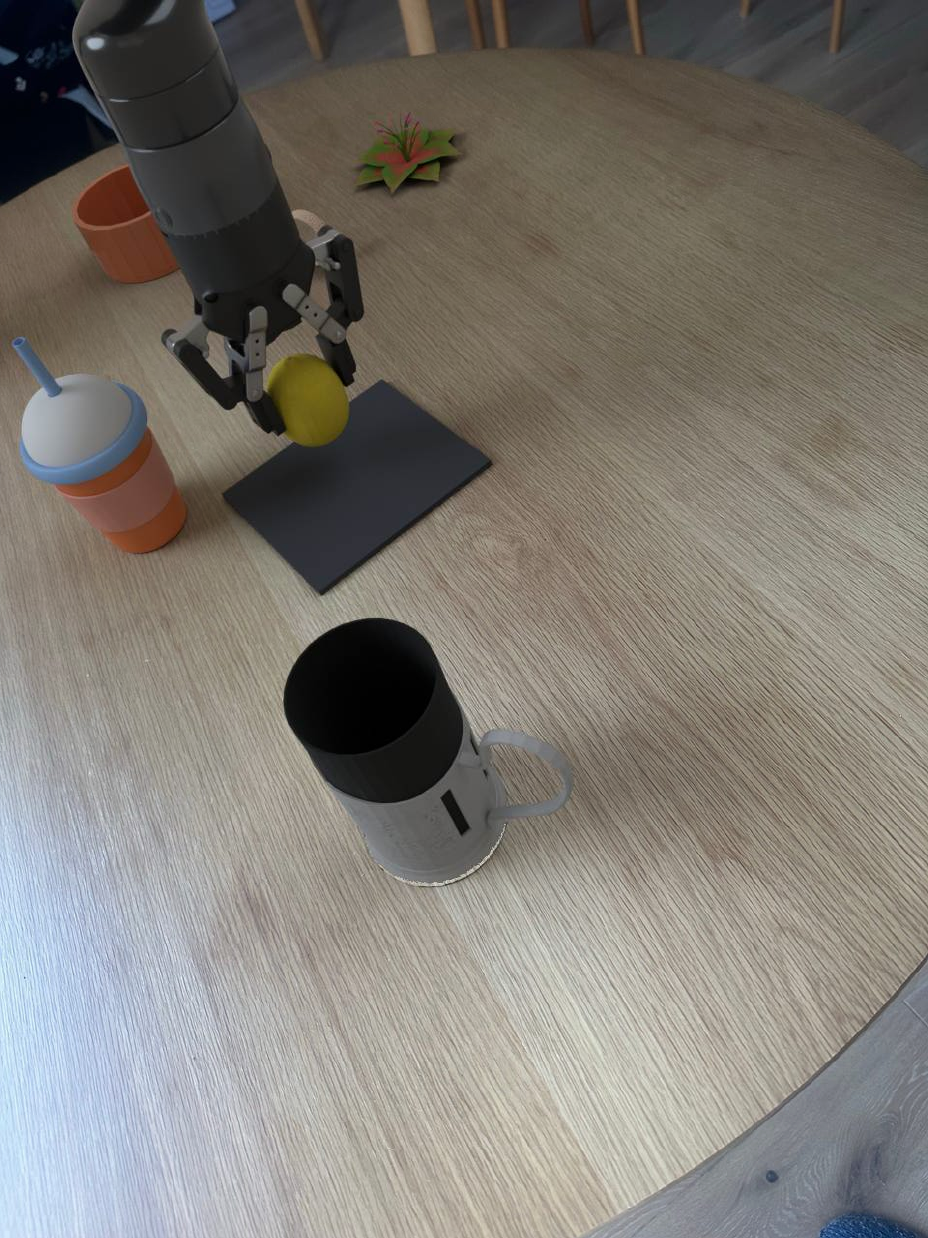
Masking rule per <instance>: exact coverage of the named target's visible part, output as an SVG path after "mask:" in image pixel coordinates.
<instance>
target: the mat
mask: <svg viewBox="0 0 928 1238" xmlns="http://www.w3.org/2000/svg"><path fill="white" fill-rule="evenodd" d="M492 465H493V462H492V459H491V458H489V457H488V456H487V455H486V454H485V453H483V452H481V451H480V450H479V449H477V448H476V447H475V446H473V445H472V444H471V443H469V442H468V441H467V440H465V439H464V438H462V437H461V436H460V435H458V434H457V433H456V432H454V431H453V430H451V429H450V428H449V427H448V426H446V425H445V424H444V423H442V422H441V421H439V420H438V419H437V418H436V417H434V416H433V415H431V414H430V413H428V412H427V411H426V410H424V409H423V408H422V407H421V406H419V405H418V404H416V403H415V402H414V401H413V400H411V399H409V398H408V397H407V396H405V394H403V393H402V392H400V391H399V390H398V389H396V388H395V387H394V386H392V385H391V384H389V382H386V381H385V380H384V379H382V378H381V379H379V380H378V381H377V382H375V383H373V385H371V386H369V387H368V388H367V389H366V390H364V391H363V392H361V393H360V394H358V395H357V396H356V397H354V398H352V399H351V400H350V401H349V417H348V420H347V424H346V426H345V428H344V430H343V431H342V433H341V434H340V435H339V436H338V437H337V438H336V439H335V440H333V441H332V442H330V443H328V444H326V445H323V446H318V447H309V446H303V445H300V444H298V443H296V442H294V441H292V442H291V443H290V444H289V445H287V446H286V447H285V448H283V449H282V450H280V451H279V452H277V453H276V454H274V455H273V456H272V457H270V458H269V459H267V460H266V461H265V462H263V463H261V465H259V466H258V467H257V468H255V469H254V470H252V471H251V472H250V473H248V474H247V475H245V476H244V477H243V478H241V479H239V480H238V481H237V482H236V483H234V484H233V485H232V486H230V487H229V488H227V489H226V490H224V491H222V493H221V496H222V497H223V499H224V500H226V502H228V504H229V505H230V506H231V507H233V509H234V510H235V511H236V512H237V513H238V514H239V515H240V516H241V517H242V518H243V519H244V520H245V521H246V522H247V524H249V525H250V526H251V527H252V528H253V529H254V530H255V531H256V532H257V533H258V534H259V535H260V536H261V538H263V539H264V540H265V541H266V542H267V543H268V544H269V546H271V547H272V548H273V549H274V550H275V551H276V552H277V553H278V554H279V555H280V556H281V557H282V558H283V559H284V560H285V561H286V562H287V563H288V565H290V566H291V567H292V569H294V570H295V571H296V572H297V573H298V574H299V575H300V577H301V578H303V579H304V580H305V581H306V583H308V584H309V586H310V587H311V588H312V589H313V590H314V591H315V592H316V593H318V595H319V596H322V595H324V594H325V593H326V592H328V591H329V590H330V589H332V588H333V587H334V586H335V585H338V584H339V582H341V581H342V580H344V579H345V578H346V577H348V576H349V575H350V574H352V572H354V571H356V569H358V568H359V567H360V566H362V565H363V564H365V563H366V562H367V561H369V560H370V559H371V558H372V557H373V556H375V555H376V554H377V553H378V552H380V551H382V550H383V549H384V548H385V547H387V546H388V545H389V544H390V543H392V542H393V541H394V540H396V539H397V538H398V537H399V536H401V535H402V534H403V533H405V532H406V531H407V530H409V529H410V528H411V527H413V526H414V525H415V524H416V523H418V522H419V521H420V520H421V519H423V518H424V517H426V516H427V515H428V514H430V513H431V512H432V511H434V510H435V509H436V508H437V507H439V506H440V505H441V504H442V503H444V502H445V501H447V500H448V499H449V498H451V496H453V495H455V494H456V493H457V492H458V491H459V490H461V489H462V488H463V487H465V486H466V485H467V484H468V483H470V482H471V481H473V480H474V479H475V478H476V477H478V475H480V474H481V473H482V472H484V471H486V470H487V469H488V468H490V467H491V466H492Z"/></svg>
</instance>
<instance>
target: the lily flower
mask: <svg viewBox="0 0 928 1238" xmlns="http://www.w3.org/2000/svg"><path fill="white" fill-rule="evenodd" d="M399 112H400V113H399V119H400V120H399V121H400V122H399V123H400V129H401V130H400V132H398V130H397V127H396V125H395V123H394V121H393V119H392V117H391V115H390V114H389V113H388V114H387V115H388V117H389V119H390V120H391V122H392V124H393V126H394V129H395V131H394V129H393V127H392V126H391V124H390V123H388V126H389V128H388V127H387V126H385V125H383V124H382V123H381V122H378V121H374V124H375V125H378V126H381V127H383V128H384V129H385V130H387V131H385V130H383V129H377V130H376V132H377V134H376V135H375V136H376V137H375V140H374V142H373V146H370V147H369V148H368V149H366V151H364V152H363V153H362V154H360V156H359V157H358V158H356V159H355V160H353V161H352V163H363V164H366V165H368V166H366V167H365V168H364V169H363V170H362V171H360V174H359V175H358V176H357V179H356V182H354V184H353V185H352V188H353V187H357V186H360V185H364V184H369V183H373V182H378V181H383V180H384V182H385V184H386V185H387V187H388V188H390V193H391V194H393V193H394V192H395V191H396V190H397V188H398V187H399V186H400V185H401V183H402V182H404V180H405V179H406V178H410V179H417V180H418V179H419V180H425V181H435V182H440V180H439V178H440V169H441V166H440V165H441V164H440V162H439V160H437V159H438V158H440V157H447V156H455V155H463V153H462V152H461V151H459V150H458V149H457V148H456V147H453V145H452V144H451V142H449V141H450V140H451V139H452V137H453V136H454V135H455V134H456V132H457V131H458V130H459V129H460V127H455V128H447V129H445V128H441V129H440V128H439V129H436V130H435V129H434V130H432V131H430V132H429V130H428V128H427V127H425V126H424V125H422V124H421V123H420V120H417V121H416V123H415V124H414V126H412V127H411V128H410V127H409V125H410V124H411V123H412V121H413V118H412V117H411V118H410V116H411V111H409V112H408V114H407V115H406V118H404V129H403V125H402V111H401V110H400V111H399ZM378 133H380V134H378ZM381 133H384V134H381Z"/></svg>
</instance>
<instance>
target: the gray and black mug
mask: <svg viewBox="0 0 928 1238" xmlns="http://www.w3.org/2000/svg"><path fill="white" fill-rule="evenodd" d="M458 698H459V697H458V696H457V695H456V694H455V692H454V691H453V689H452V688H451V687H450V685H449V683H448V680H447V678H446V675H445V674H444V672H443V668H442V667H441V665H440V662H439V660H438V657H437V655H436V653H435V651H434V649H433V647H432V645H431V644H430V642H429V641H428V640H427V638H426V637H425V636H424V635H423V634H422V633H421V632H419V631H418V630H417V629H416V628H414V627H412V626H410V625H409V624H407V623H405V622H402V621H399V620H396V619H393V618H385V617H365V618H359V619H353V620H350V621H347V622H344V623H341V624H338V625H337V626H335V627H333V628H330V629H328V630H327V631H325V632H324V633H322V634H321V635H319V636H318V637H317V638H315V639H314V640H313V641H312V642H311V643H310V644H308V645H307V647H306V648H305V649H304V650H303V651H302V652H301V653H300V655H299V656H298V657H297V659H296V660H295V662H294V663H293V664H292V666H291V668H290V671H289V673H288V675H287V677H286V681H285V685H284V689H283V699H282V701H283V702H282V704H283V711H284V712H283V713H284V716H285V719H286V722H287V724H288V727H289V728H290V730H291V731H292V733H293V734H294V736H295V737H296V739H297V740H298V742H300V744H301V746H302V747H303V748H304V750H305V751H306V752H307V754H308V756H309V759H310V761H311V762H312V764H313V767H315V769H316V771H317V772H318V774H319V775H320V777H321V778H322V780H323V781H324V782H325V784H326V785H327V787H328V788H329V789H330V790H331V792H332V793H333V794H334V796H335V798H336V799H337V800H338V801H339V803H340V804H341V805H342V806H343V809H345V810H346V812H347V814H348V815H349V816H350V817H351V819H352V820H353V822H355V824H356V825H357V827H358V828H359V829H360V830H361V832H362V834H363V833H364V834H363V836H364V835H365V840H366V842H367V845H368V848H367V850H368V849H369V850H370V851H371V854H372V855H373V857H374V859H375V860H376V861H377V862H378V864H380V865H381V866H382V867H383V868H384V869H385V870H386V871H388V872H389V873H391V874H393V875H394V876H397V877H400V878H403V880H404V879H405V880H407V879H408V880H407V881H411V882H413V881H414V882H416V883H418V882H421V883H424V882H426V883H429V884H431V883H434V882H437V883H443V881H446V880H452V879H454V878H458V877H461V876H460V875H462V874H465V873H467V871H469V870H470V869H472V868H473V867H474V866H477V865H479V864H478V863H481V862H482V861H483V859H484V858H485V857H486V856H488V855H489V854H490V852H491V850H492V847H493V848H494V846H495V845H496V842H498V839H500V838H499V837H501V833H502V832H503V828H504V826H505V825H504V824H506V821H507V820H506V819H508V820H514V819H527V818H535V817H544V816H545V817H546V816H550V815H553V814H554V813H556V812H558V811H560V810H561V809H562V808H563V807H564V806H566V804H567V803H568V802H569V799H570V797H571V794H572V792H573V789H574V785H575V780H574V772H573V768H572V766H571V764H570V762H569V760H568V759H567V757H566V756H565V755H563V753H562V752H561V751H560V750H558V749H557V748H556V747H554V746H553V745H551V744H549V743H548V742H546V741H544V740H542V739H540V738H537V737H535V736H533V735H530V734H528V733H526V732H525V733H524V732H521V731H517V730H515V729H507V728H493V729H491V730H489V731H487V732H485V733H484V734H483V736H482V738H481V740H480V742H479V743H478V741H477V739H476V736H475V734H474V732H473V730H472V727H471V725H470V722H469V720H468V718H467V715H466V713H465V711H464V708H463V707H462V705H461V702H460V700H459V699H458ZM493 745H506V746H510V747H511V746H512V747H515V748H518V749H521V750H524V751H526V752H529V753H531V754H533V755H536V756H537V757H539V758H541V759H542V760H544V761H546V762H548V763H549V765H551V766H552V767H553V768H554V769H555V770H556V771H557V773H558V775H559V776H560V778H561V780H562V787H563V791H561V792H560V793H559V794H558V795H557V796H555V797H553V798H551V799H549V800H545V801H540V802H534V803H533V802H532V803H525V804H510V805H509V804H508V806H507V798H508V794H507V791H505V790H506V787H505V785H504V783H503V781H502V778H501V776H500V775H499V774H498V772H497V771H496V769H494V767H493V766H492V765H491V761H492V760H493V751H492V748H491V746H493ZM504 787H505V788H504ZM505 792H506V793H505ZM506 794H507V795H506ZM365 840H364V841H365ZM367 845H366V846H367ZM417 881H418V882H417Z"/></svg>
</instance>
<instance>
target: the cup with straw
mask: <svg viewBox="0 0 928 1238" xmlns="http://www.w3.org/2000/svg"><path fill="white" fill-rule="evenodd" d="M11 345H12V347H13V348H14V350H15V351H16V352H17V354H18V355H19V357H20V358H21V359H22V361H23V362H24V363H25V365H26V366H27V367H28V369H29V370H30V371H31V373H32V375H34V377H35V378H36V380H37V381H38V382H39V384H40V385H41V388H40V389H38V390H37V391H36V392H35V393H34V394H33V396H32V397H31V398H30V400H29V401H28V403H27V405H26V407H25V409H24V412H23V415H22V420H21V437H20V442H19V453H20V457H21V460H22V462H23V465H24V466H25V468H26V469H27V470H28V472H29V473H30V474H32V475H33V476H34V477H35V478H36V479H38V480H40V481H42V482H44V483H47V484H49V485H50V484H51V485H52V486H53V488H54V489H55V490H56V491H57V492H58V493H59V494H60V495H61V496H62V497H63V498H64V499H65V500H66V501H67V502H68V503H69V504H70V505H71V506H72V507H73V508H74V509H75V510H76V511H77V512H78V513H79V514H80V515H81V516H82V517H83V518H84V519H85V520H86V521H87V522H88V523H89V524H90V525H91V526H92V527H93V528H95V529H96V530H99V531H100V532H102V533H103V534H104V535H105V536H106V538H107V539H109V540H110V541H111V542H112V543H113V544H114V545H115V546H116V547H117V548H118V549H120V550H121V551H124V552H126V553H130V554H143V553H148V552H151V551H155V550H156V549H159V548H161V547H163V546H164V545H166V544H168V543H169V542H170V541H171V540H172V539H174V538H175V537H176V536H177V534H179V532H180V531H181V530H182V528H183V526H184V524H185V522H186V518H187V506H186V503H185V501H184V499H183V497H182V494H181V492H180V491H179V489H178V486H177V484H176V483H175V475H174V473H173V471H172V469H171V467H170V465H169V464H168V461H167V459H166V457H165V456H164V455H165V454H164V453H163V451H162V449H161V447H160V445H159V443H158V441H157V439H156V437H155V436H154V435H155V434H154V433H153V432H152V430H151V428H150V427H149V425H148V411H147V408H146V405H145V402H144V401H143V399H142V397H140V395H139V394H138V393H137V392H136V391H135V390H134V389H132V388H131V387H129V386H128V385H126V384H124V383H121V382H118V381H111V380H109V379H107V378H105V377H102V376H98V375H94V374H88V373H74V374H68V375H64V376H60V377H57V378H54V376H53V375H52V374H51V373H50V371H49V370H48V368H47V367H46V365H45V364H44V362H43V361H42V360H41V358H40V357H39V356H38V354H37V353H36V352H35V350H34V349H33V347H32V346H31V345H30V343H29V342H28V340H27V339H26V338H25V336H19V337H17V338H15V339H14V340H13V341H12V344H11Z"/></svg>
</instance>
